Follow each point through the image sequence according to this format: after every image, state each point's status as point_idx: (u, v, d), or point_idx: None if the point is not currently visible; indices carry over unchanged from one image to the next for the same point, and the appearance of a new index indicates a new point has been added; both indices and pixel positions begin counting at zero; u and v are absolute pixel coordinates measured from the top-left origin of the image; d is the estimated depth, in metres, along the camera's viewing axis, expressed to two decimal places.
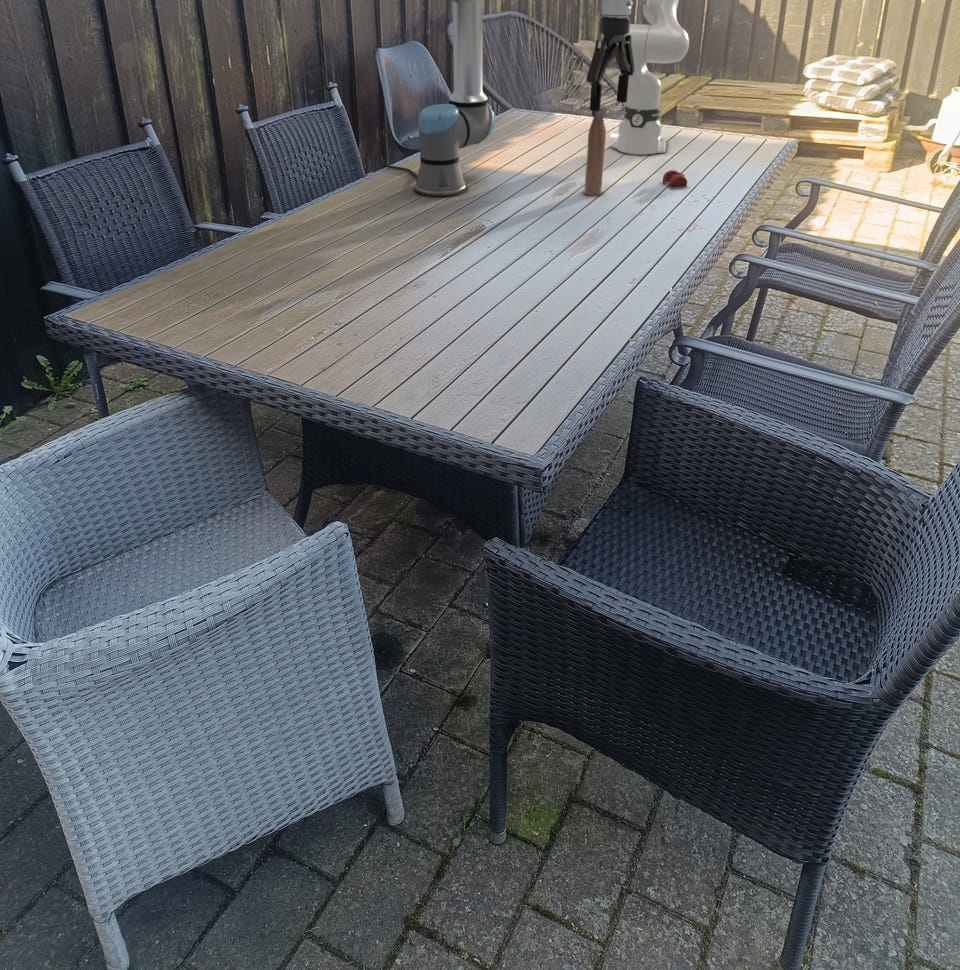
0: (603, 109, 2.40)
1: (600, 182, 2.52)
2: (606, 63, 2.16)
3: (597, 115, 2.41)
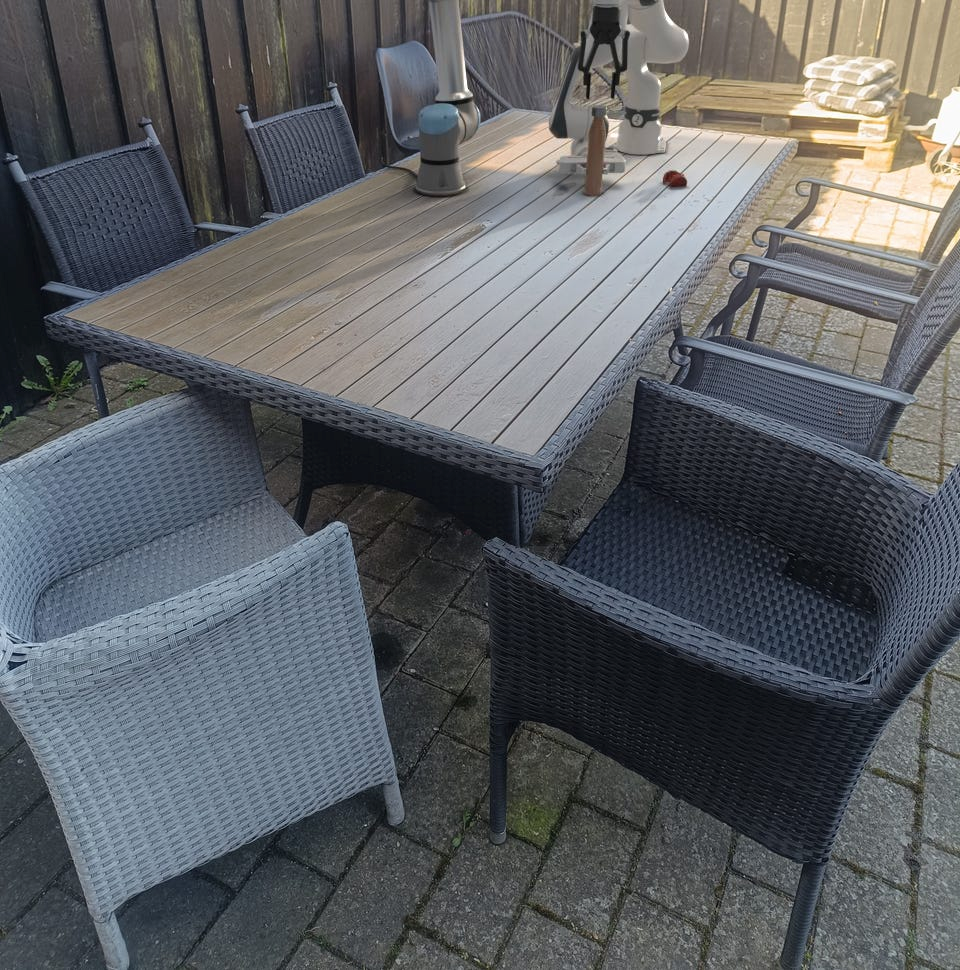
0: (603, 109, 2.40)
1: (600, 182, 2.52)
2: (592, 52, 2.32)
3: (597, 115, 2.41)
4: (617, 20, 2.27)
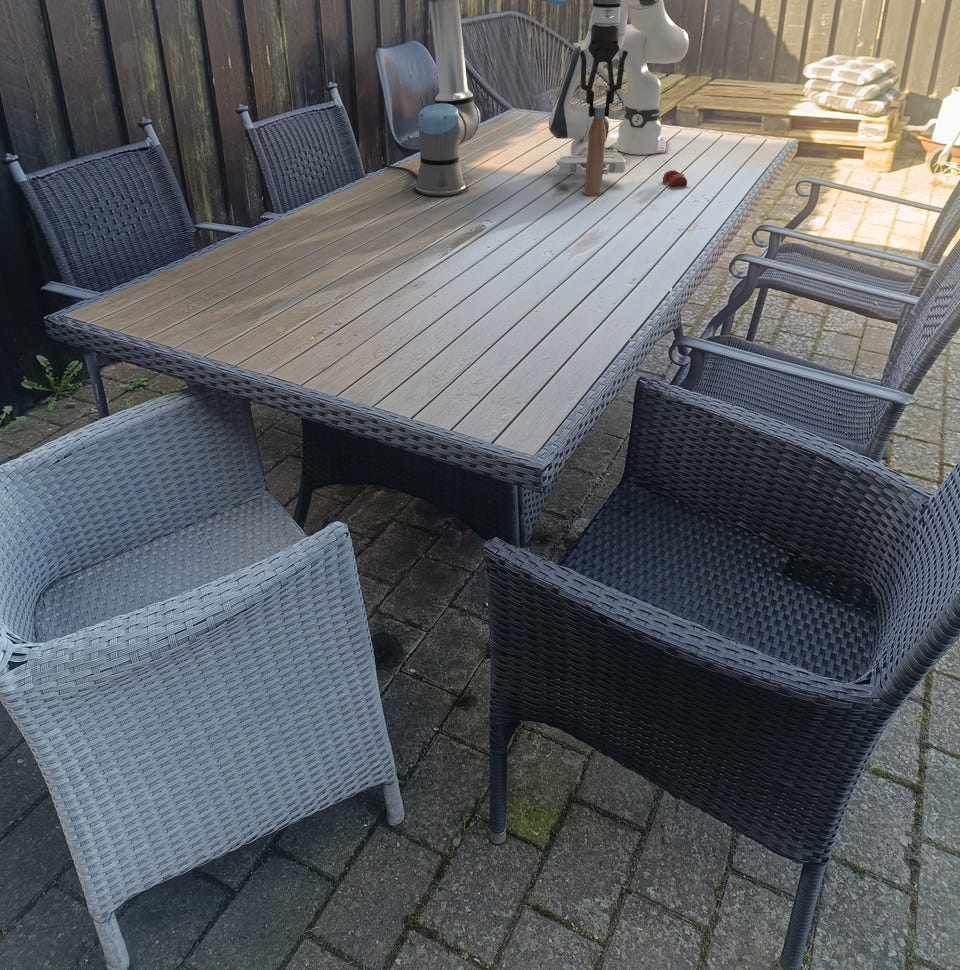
0: (603, 109, 2.40)
1: (600, 182, 2.52)
2: (593, 70, 2.35)
3: (597, 115, 2.41)
4: (615, 39, 2.29)
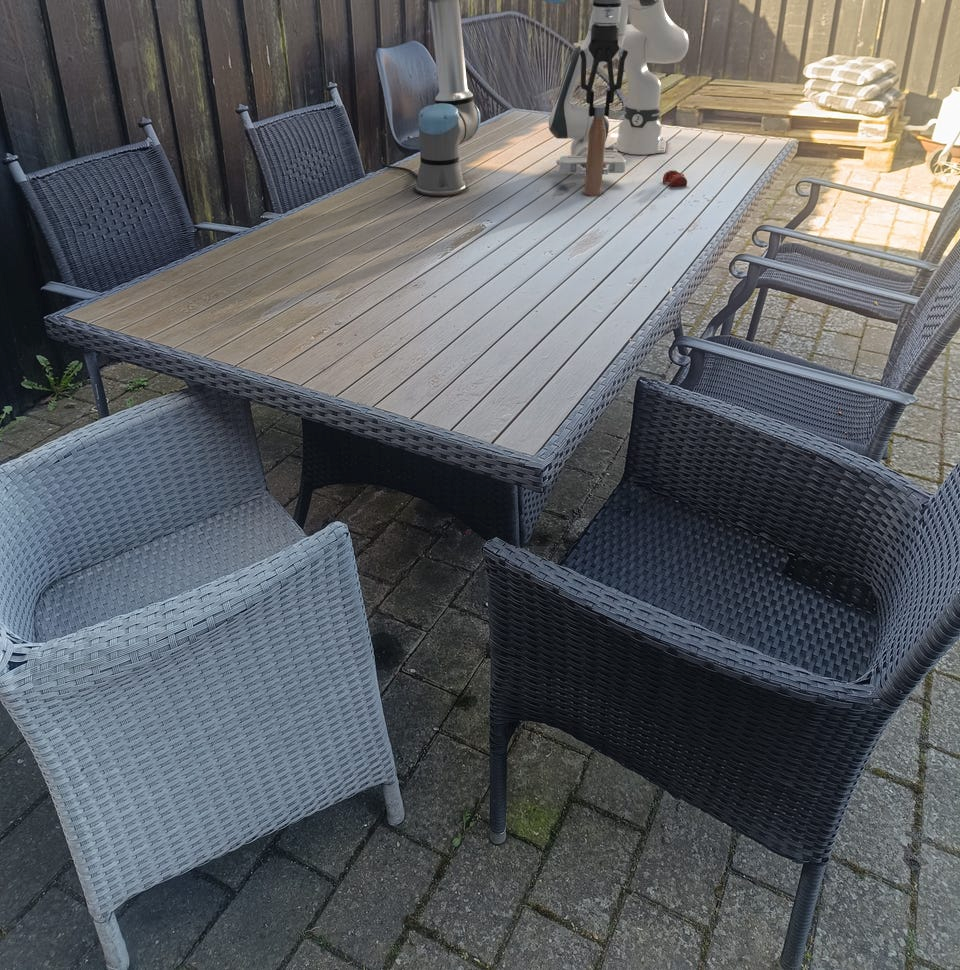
0: None
1: (600, 182, 2.52)
2: (593, 70, 2.35)
3: (605, 114, 2.42)
4: (615, 38, 2.29)
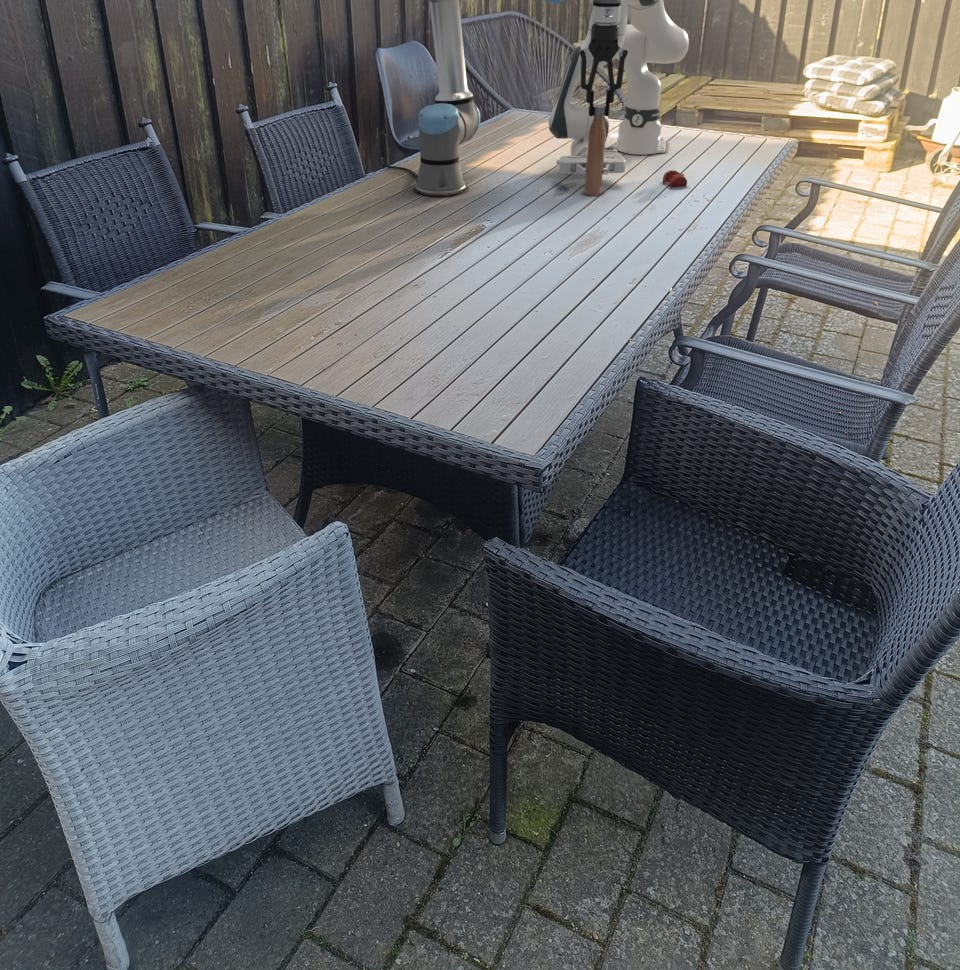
0: None
1: (600, 182, 2.52)
2: (593, 70, 2.35)
3: None
4: (615, 38, 2.29)
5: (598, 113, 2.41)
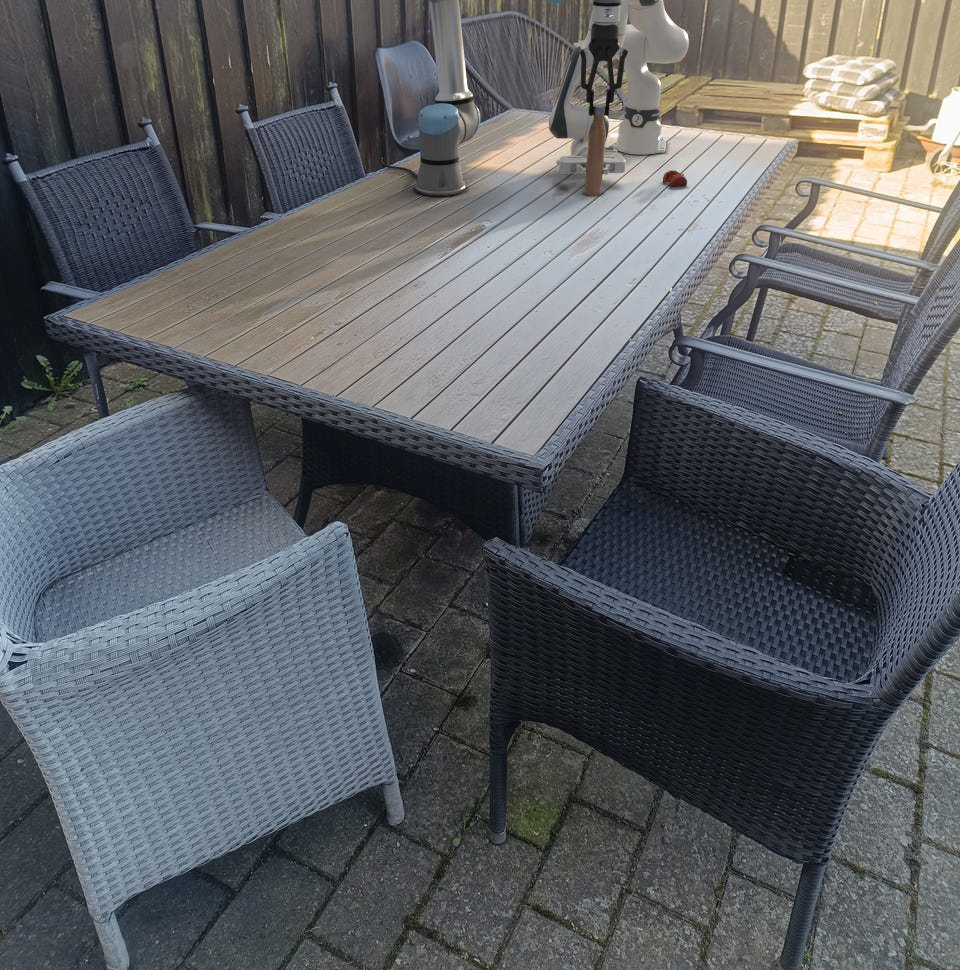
0: None
1: (600, 182, 2.52)
2: (593, 69, 2.35)
3: None
4: (616, 38, 2.29)
5: (605, 112, 2.42)
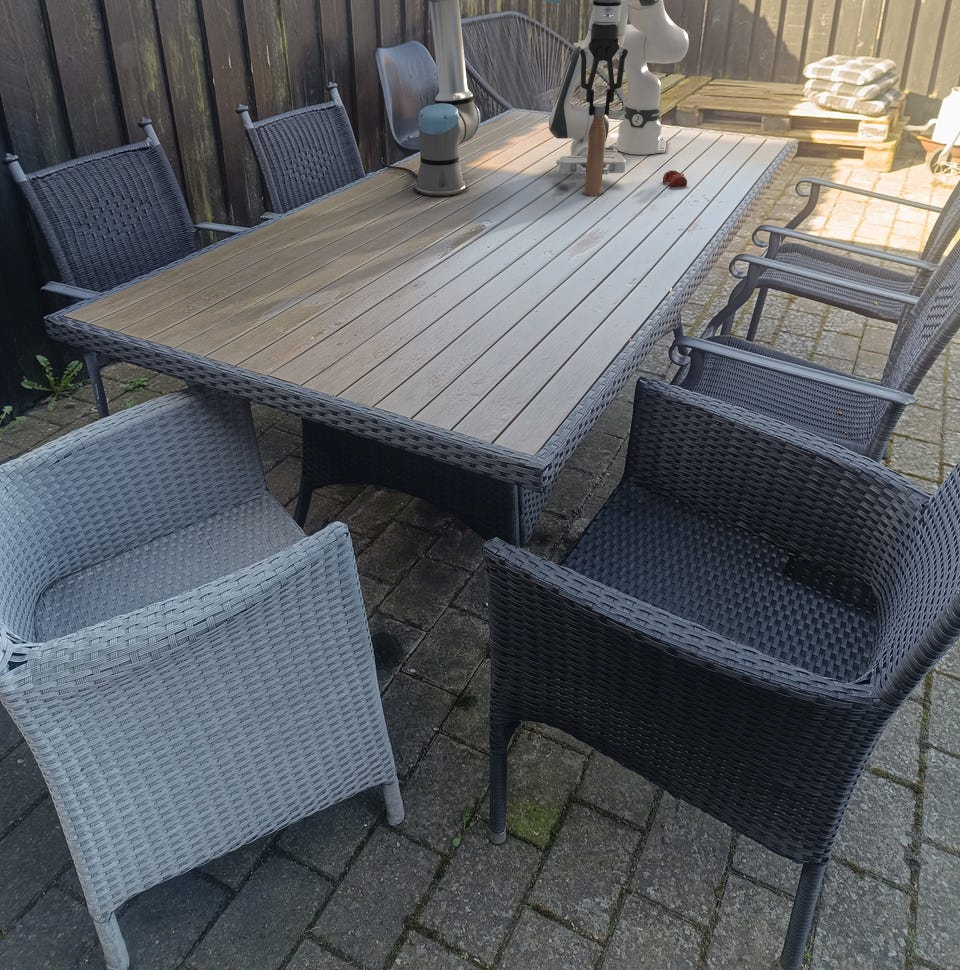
0: (600, 108, 2.40)
1: (600, 182, 2.52)
2: (593, 69, 2.35)
3: (594, 113, 2.41)
4: (616, 37, 2.29)
5: None
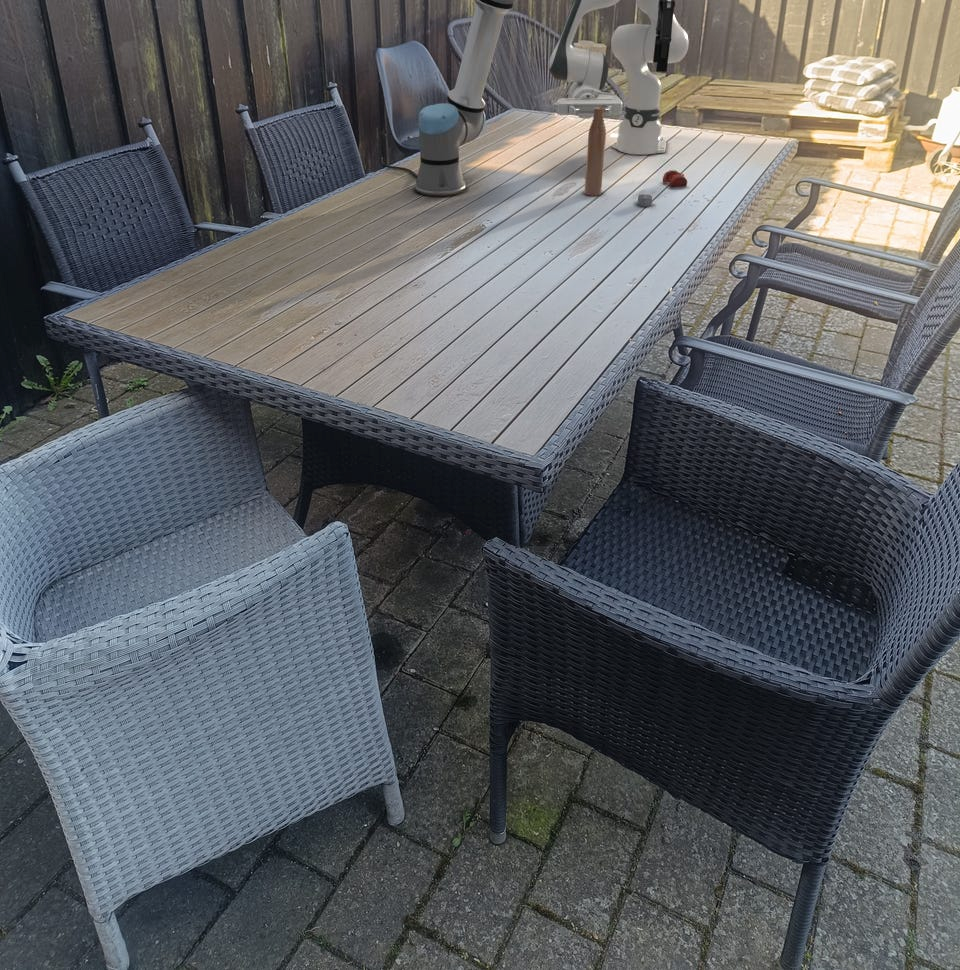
0: (651, 197, 2.45)
1: (600, 182, 2.52)
2: None
3: (649, 204, 2.45)
4: None
5: None
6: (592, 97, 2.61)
